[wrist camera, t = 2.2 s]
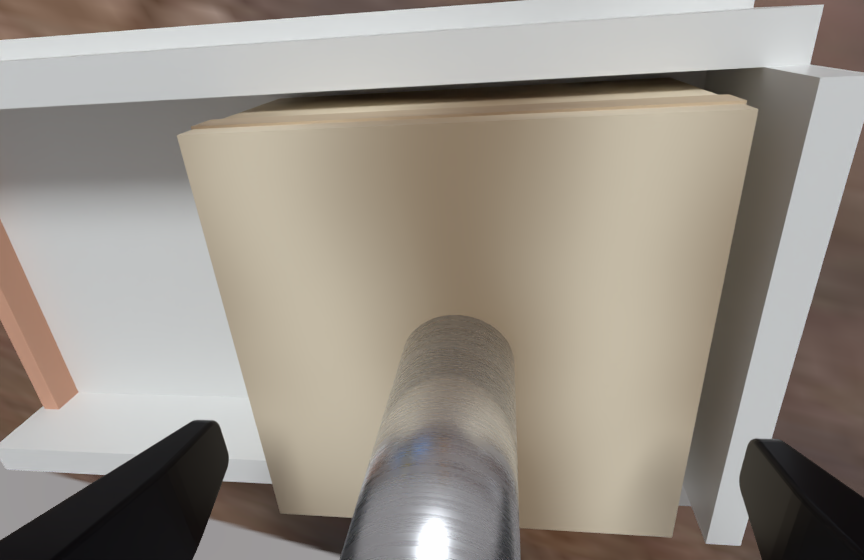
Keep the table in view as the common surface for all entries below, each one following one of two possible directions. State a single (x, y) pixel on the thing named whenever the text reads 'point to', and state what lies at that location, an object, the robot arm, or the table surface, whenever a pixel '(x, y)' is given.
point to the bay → (364, 74)
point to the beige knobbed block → (475, 301)
